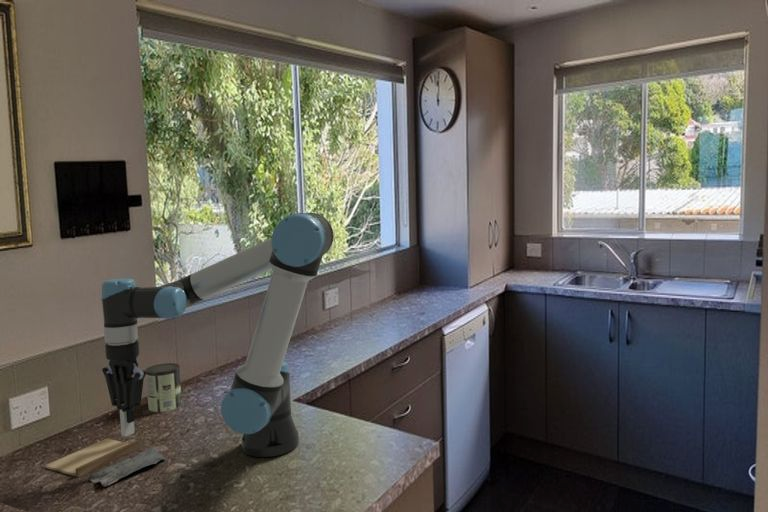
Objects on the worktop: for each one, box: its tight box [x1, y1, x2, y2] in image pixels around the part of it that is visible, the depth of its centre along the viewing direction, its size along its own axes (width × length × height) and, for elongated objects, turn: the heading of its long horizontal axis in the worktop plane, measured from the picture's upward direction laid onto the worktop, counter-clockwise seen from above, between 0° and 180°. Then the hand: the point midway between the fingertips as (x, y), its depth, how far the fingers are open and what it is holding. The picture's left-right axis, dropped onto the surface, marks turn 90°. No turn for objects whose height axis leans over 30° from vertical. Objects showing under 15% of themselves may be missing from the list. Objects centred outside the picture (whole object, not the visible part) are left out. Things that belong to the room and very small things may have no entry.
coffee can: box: [145, 362, 183, 413], centre depth 183 cm, size 10×10×14 cm
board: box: [44, 438, 140, 478], centre depth 150 cm, size 13×18×2 cm
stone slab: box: [89, 446, 166, 488], centre depth 143 cm, size 18×2×10 cm
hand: (128, 434), depth 143 cm, fingers closed
